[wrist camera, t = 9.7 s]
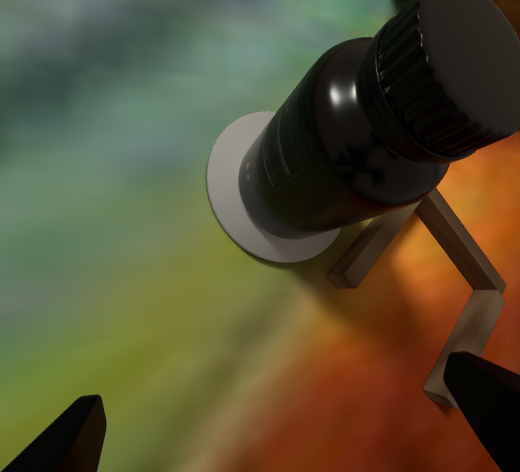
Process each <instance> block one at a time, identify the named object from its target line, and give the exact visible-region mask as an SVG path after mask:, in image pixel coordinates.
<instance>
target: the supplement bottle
mask: <svg viewBox="0 0 520 472" xmlns="http://www.w3.org/2000/svg"><path fill="white" fill-rule="evenodd" d="M519 130H520V41H519V38H518V36H517V33H516V32H515V31H514V29H513V28H512V26H511V24H510V22H509V20H508V19H507V18H506V17H505V16H504V14H503V13H502V11H501V10H500V8H499V7H498V6H496V5H495V4H494V2H493V1H492V0H410V1H409V2H408V3H407V4H406V5H405V7H404V8H403V9H402V10H401V11H400V12H399V13H398V14H397V15H396V16H395V17H393V18H392V19H390V20H389V21H388V22H387V23H386V24H385V25H384V26H383V27H382V28H381V29H380V30H379V31H378V32H377V34H376V35H375V36H374V37H361V38H355V39H351V40H347V41H344V42H342V43H340V44H337V45H335V46H333V47H332V48H330V49H329V50H328V51H326V52H325V53H324V54H323V55H322V56H321V57H320V58H319V59H318V60H317V61H316V62H315V64H314V65H313V66H312V67H311V68H310V69H309V71H308V72H307V73H306V75H305V76H304V77H303V78H302V80H301V81H300V82H299V84H298V85H297V86H296V88H295V89H294V90H293V91H292V93H291V94H290V95H289V97H288V98H287V99H286V101H285V102H284V103H283V105H282V106H281V107H280V108H279V110H278V111H277V112H276V114H275V115H274V116H273V118H272V119H271V120H270V121H269V123H268V124H267V125H266V127H265V128H264V129H263V131H262V132H261V133H260V134H259V136H258V137H257V138H256V140H255V141H254V142H253V144H252V145H251V147H250V148H249V149H248V151H247V152H246V154H245V156H244V158H243V160H242V162H241V165H240V169H239V175H238V187H239V193H240V197H241V200H242V203H243V205H244V207H245V209H246V211H247V212H248V214H249V215H250V217H251V218H252V219H253V220H254V222H255V223H256V224H257V225H259V226H260V227H261V228H262V229H264V230H265V231H267V232H268V233H270V234H272V235H274V236H277V237H280V238H284V239H290V240H297V239H304V238H308V237H312V236H316V235H319V234H322V233H325V232H328V231H332V230H335V229H338V228H341V227H344V226H348V225H351V224H354V223H357V222H360V221H364V220H367V219H370V218H373V217H377V216H380V215H383V214H386V213H389V212H392V211H396V210H399V209H402V208H404V207H407V206H410V205H412V204H415V203H417V202H419V201H420V200H422V199H424V198H425V197H426V196H428V195H429V194H430V193H431V192H432V191H433V190H434V189H435V188H436V187H437V185H438V184H439V183H440V182H441V180H442V179H443V177H444V175H445V174H446V172H447V170H448V168H449V165H450V163H452V162H455V161H458V160H461V159H464V158H466V157H468V156H470V155H472V154H473V153H474V152H476V151H477V150H478V149H481V148H483V147H485V146H488V145H490V144H493V143H495V142H497V141H500V140H502V139H505V138H507V137H509V136H510V135H512V134H514V133H515V132H517V131H519Z"/></svg>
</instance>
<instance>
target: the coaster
mask: <svg viewBox="0 0 520 472" xmlns="http://www.w3.org/2000/svg"><path fill="white" fill-rule="evenodd" d="M275 114H276V112H267V111H263V112H256V113H252V114H248V115H245V116H243V117H241V118H239V119H237V120H236V121H234V122H233V123H231V124H230V125H229V126H228V127H227V128H226V129H225V130H224V131H223V132H222V134H221V135H220V136H219V137H218V139H217V141H216V143H215V145H214V146H213V148H212V150H211V153H210V156H209V159H208V163H207V168H206V189H207V194H208V199H209V202H210V205H211V208H212V211H213V213H214V215H215V217H216V219H217V221H218V223H219V224H220V226H221V227H222V229H223V230H224V231H225V233H226V234H227V235H228V236H229V237H230V238H231V239H232V240H233V241H234V242H235V243H236V244H237V245H238V246H239V247H241V248H242V249H244V250H245V251H246V252H248V253H250V254H252V255H254V256H256V257H258V258H261V259H263V260H266V261H271V262H276V263H293V262H299V261H303V260H307V259H310V258H312V257H315V256H316V255H318V254H320V253H321V252H323V251H324V250H325V249H326V248H328V247H329V246H330V245H331V243H332V242H333V241H334V240H335V239H336V237H337V236H338V234H339V232H340V230H341V228H342V227H341V228H338V229H335V230H332V231H328V232H325V233H322V234H319V235H316V236H312V237H308V238H304V239H297V240H290V239H284V238H280V237H277V236H274V235H272V234H270V233H268V232H267V231H265V230H264V229H262V228H261V227H260V226H259V225H257V224H256V223H255V222H254V220H253V219H252V218H251V217H250V215H249V214H248V212H247V211H246V209H245V207H244V205H243V203H242V200H241V197H240V193H239V187H238V175H239V169H240V165H241V162H242V160H243V158H244V156H245V154H246V152H247V151H248V149H249V148H250V147H251V145H252V144H253V142H254V141H255V140H256V138H257V137H258V136H259V134H260V133H261V132H262V131H263V129H264V128H265V127H266V125H267V124H268V123H269V121H270V120H271V119H272V118H273V116H274V115H275Z"/></svg>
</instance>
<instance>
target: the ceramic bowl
mask: <svg viewBox="0 0 520 472" xmlns="http://www.w3.org/2000/svg"><path fill="white" fill-rule="evenodd" d="M492 1H493V2H494V4H495V5H496V6H498V7H499V8H500V10H501V11H502V13H503V14H504V16H505V17H506V18H507V19H508V20H509V22H510V24H511V26H512V28H513V29H514V31H520V0H492Z"/></svg>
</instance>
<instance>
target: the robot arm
mask: <svg viewBox="0 0 520 472" xmlns="http://www.w3.org/2000/svg"><path fill="white" fill-rule="evenodd" d="M443 380H444V383H445V385H446V387H447V389H448V390H449V392H450V394H451V395H452V397H453V398H454V400H455V402H456V403H457V405H458V406H459V408H460V410H461V411H462V413H463V415H464V416H465V418H466V419H467V421H468V423H469V424H470V426H471V427H472V429H473V431H474V432H475V434H476V435H477V437H478V438H479V440H480V442H481V443H482V445H483V446H484V447H485V449H486V450H487V452H488V453H489V454H490V456H491V457H492V459H493V460H494V461H495V463H496V464H497V465H498V467H499V468H500V470H501V471H502V472H520V375H518V374H516V373H514V372H512V371H510V370H507V369H505V368H503V367H501V366H498V365H496V364H494V363H492V362H489V361H487V360H485V359H483V358H481V357H478V356H476V355H474V354H472V353H469V352H467V351H457V352H451V353H450V354H449V355H448V358H447V361H446V365H445V369H444V373H443ZM106 425H107V424H106V416H105V412H104V407H103V402H102V398H101V396H100V395H97V394H96V395H87V396H82V397H79V398H78V399H77V400H76V401H75V402H74V403H72V404H71V405H70V406H69V407H68V408H67V409H66V410H65V411H64V412H63V413H62V414H61V415H60V416H59V417H58V418H57V419H56V420H55V421H54V422H53V423H51V424H50V425H49V426H48V427H47V428H46V429H45V430H44V431H43V432H42V433H41V434H40V435H39V436H38V437H37V438H36V439H35V440H34V441H33V442H32V443H30V444H29V445H28V446H27V447H26V448H25V449H24V450H23V451H22V452H21V453H20V454H19V455H18V456H17V457H16V458H15V459H14V460H13V461H12V462H11V463H9V464H8V465H7V466H6V467H5V468H4V469H3V470H2V471H1V472H97V470H98V465H99V460H100V456H101V451H102V447H103V442H104V438H105V433H106Z"/></svg>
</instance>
